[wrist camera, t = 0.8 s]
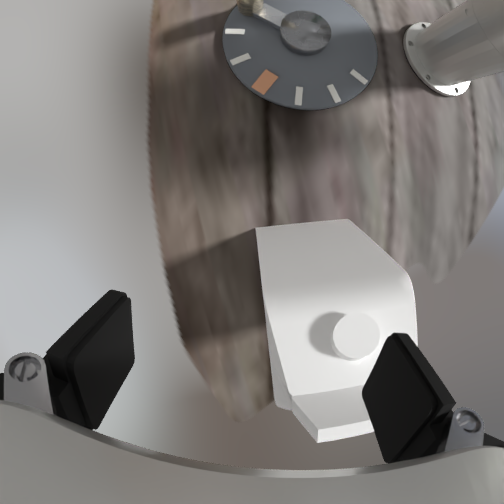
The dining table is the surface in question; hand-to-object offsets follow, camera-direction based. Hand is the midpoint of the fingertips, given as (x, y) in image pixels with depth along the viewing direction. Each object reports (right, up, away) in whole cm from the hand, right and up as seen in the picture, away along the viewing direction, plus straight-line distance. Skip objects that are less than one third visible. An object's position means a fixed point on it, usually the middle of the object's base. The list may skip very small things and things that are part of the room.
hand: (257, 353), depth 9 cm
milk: (+7, +2, +28) cm, 29 cm away
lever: (+3, +32, +17) cm, 36 cm away
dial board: (+6, +30, +19) cm, 36 cm away
